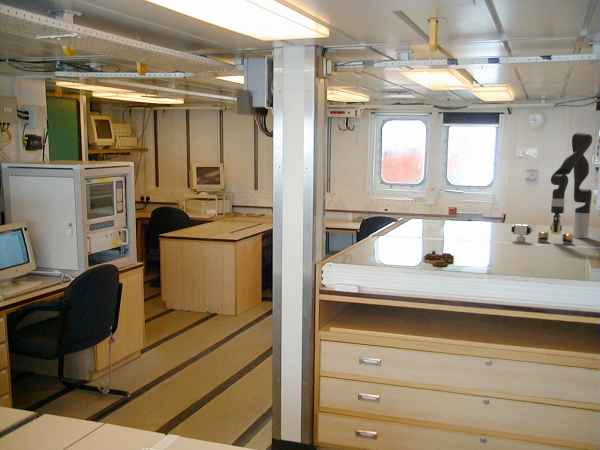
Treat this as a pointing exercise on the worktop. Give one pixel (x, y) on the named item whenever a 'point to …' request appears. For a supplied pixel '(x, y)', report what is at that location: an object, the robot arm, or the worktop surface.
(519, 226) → the pneumatic valve
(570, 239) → the pipe stubs
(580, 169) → the robot arm
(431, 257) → the gear puzzle
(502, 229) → the worktop surface
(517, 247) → the worktop surface
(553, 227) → the block
